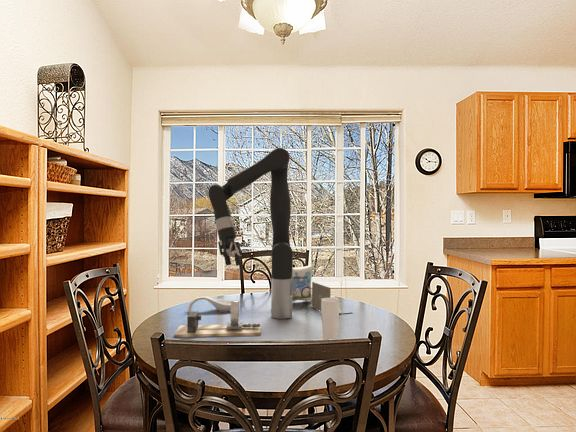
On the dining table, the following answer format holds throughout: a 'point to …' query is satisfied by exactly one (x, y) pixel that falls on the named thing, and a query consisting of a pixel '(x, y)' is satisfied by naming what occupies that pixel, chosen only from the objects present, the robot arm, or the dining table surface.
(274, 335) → the dining table surface
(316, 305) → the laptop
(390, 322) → the dining table surface
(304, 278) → the pouch
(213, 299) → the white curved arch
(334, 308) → the drinking glass
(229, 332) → the tensioner rail
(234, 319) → the chain handle
